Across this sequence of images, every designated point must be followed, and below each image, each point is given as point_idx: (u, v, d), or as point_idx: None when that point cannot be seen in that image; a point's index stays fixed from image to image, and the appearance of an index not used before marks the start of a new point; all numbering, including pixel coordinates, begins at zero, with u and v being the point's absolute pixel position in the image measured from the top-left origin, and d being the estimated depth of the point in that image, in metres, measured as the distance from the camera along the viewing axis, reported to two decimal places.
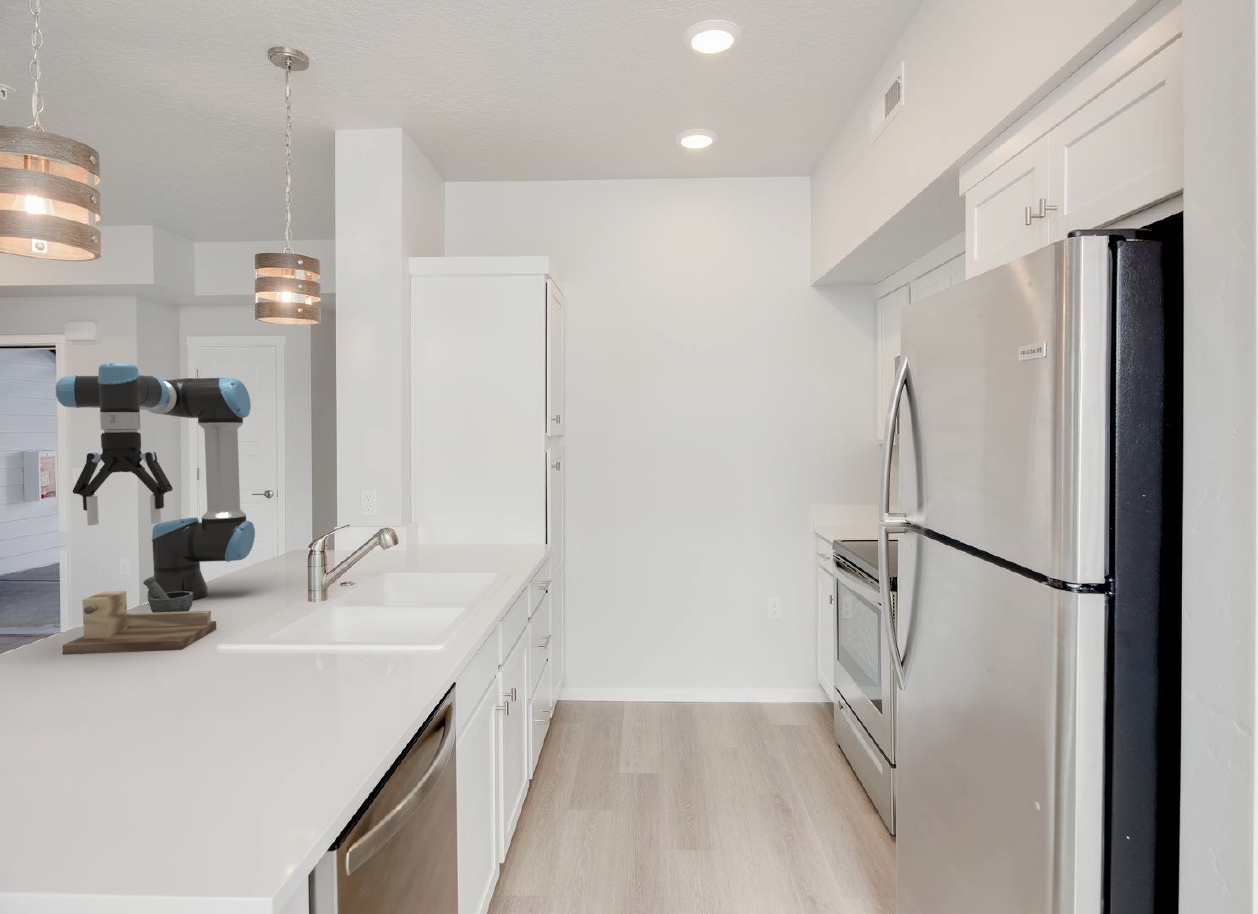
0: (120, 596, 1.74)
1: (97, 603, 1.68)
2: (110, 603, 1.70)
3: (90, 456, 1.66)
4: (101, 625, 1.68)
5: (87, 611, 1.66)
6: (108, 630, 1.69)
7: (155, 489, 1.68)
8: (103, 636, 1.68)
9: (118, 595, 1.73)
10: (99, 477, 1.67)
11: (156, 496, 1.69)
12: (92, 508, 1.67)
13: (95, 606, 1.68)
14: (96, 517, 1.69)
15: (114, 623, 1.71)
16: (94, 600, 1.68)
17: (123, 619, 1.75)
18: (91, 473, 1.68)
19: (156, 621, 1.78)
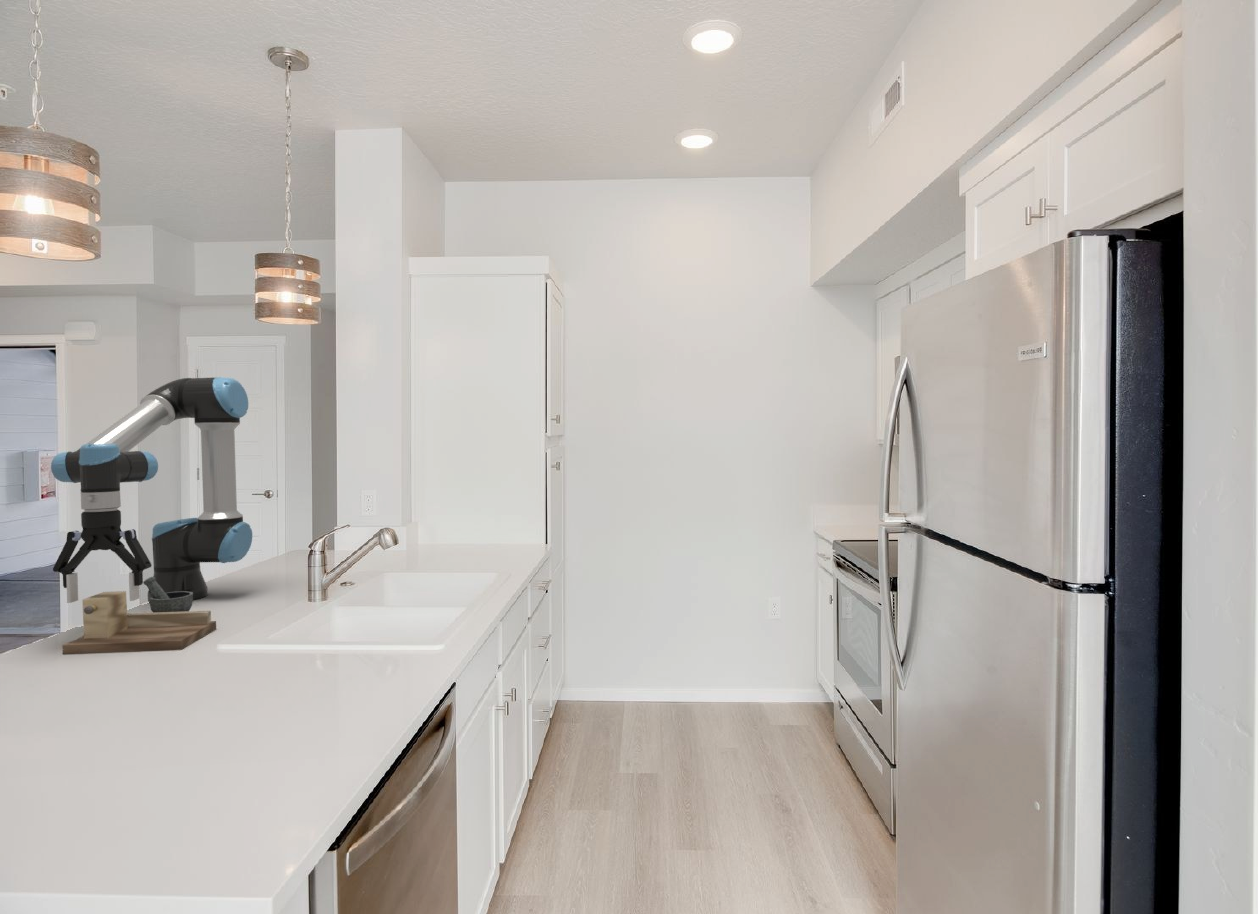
0: (120, 596, 1.74)
1: (97, 603, 1.68)
2: (110, 603, 1.70)
3: (70, 535, 1.69)
4: (101, 625, 1.68)
5: (87, 611, 1.66)
6: (108, 630, 1.69)
7: (134, 567, 1.71)
8: (103, 636, 1.68)
9: (118, 595, 1.73)
10: (79, 555, 1.70)
11: (135, 573, 1.71)
12: (72, 585, 1.70)
13: (95, 606, 1.68)
14: (76, 594, 1.72)
15: (114, 623, 1.71)
16: (94, 600, 1.68)
17: (123, 619, 1.75)
18: (71, 550, 1.71)
19: (156, 621, 1.78)
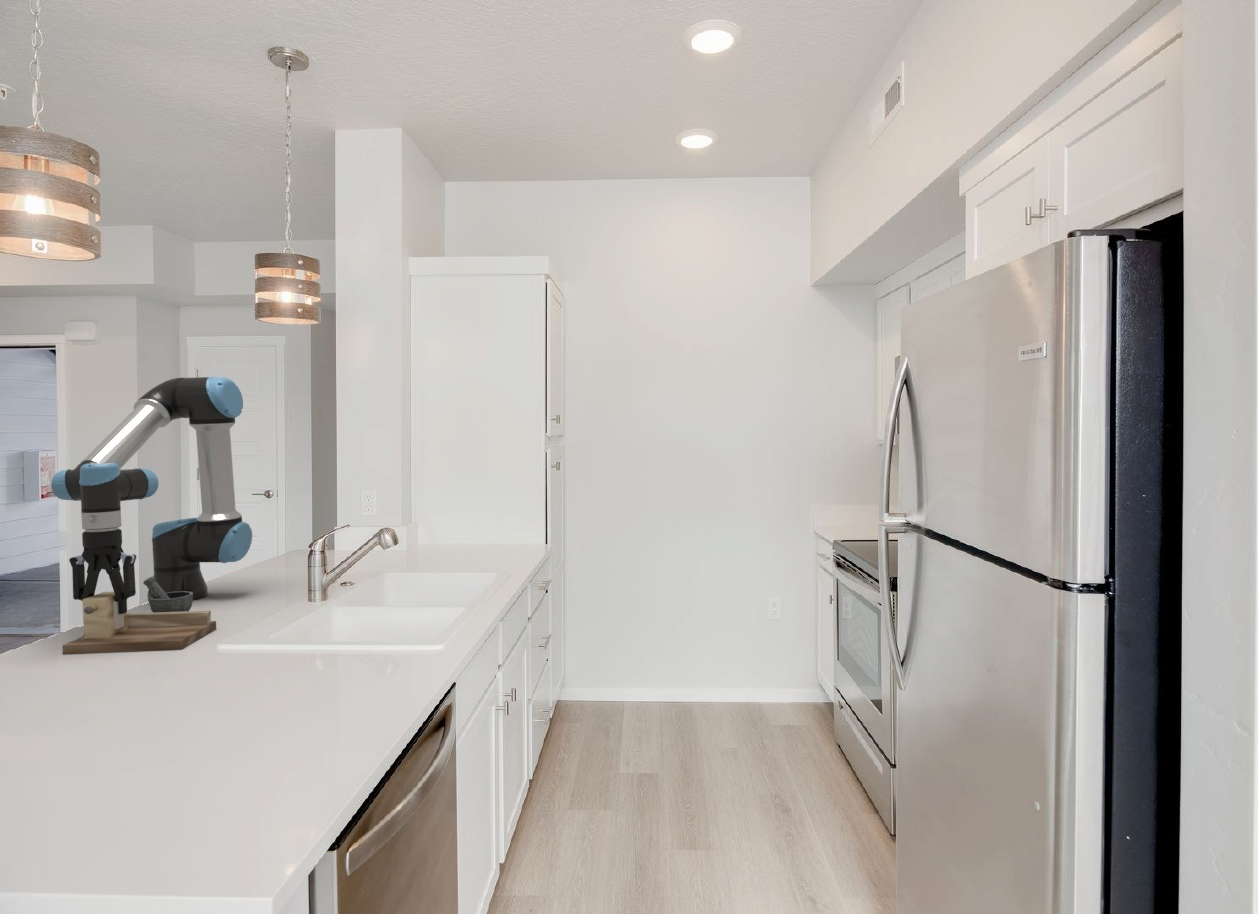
0: None
1: (97, 603, 1.68)
2: (110, 603, 1.70)
3: (73, 560, 1.70)
4: (101, 625, 1.68)
5: (87, 611, 1.66)
6: (108, 630, 1.69)
7: (119, 595, 1.71)
8: (103, 636, 1.68)
9: None
10: (90, 578, 1.70)
11: (119, 602, 1.72)
12: None
13: (95, 606, 1.68)
14: None
15: None
16: (94, 600, 1.68)
17: None
18: (81, 575, 1.71)
19: (156, 621, 1.78)
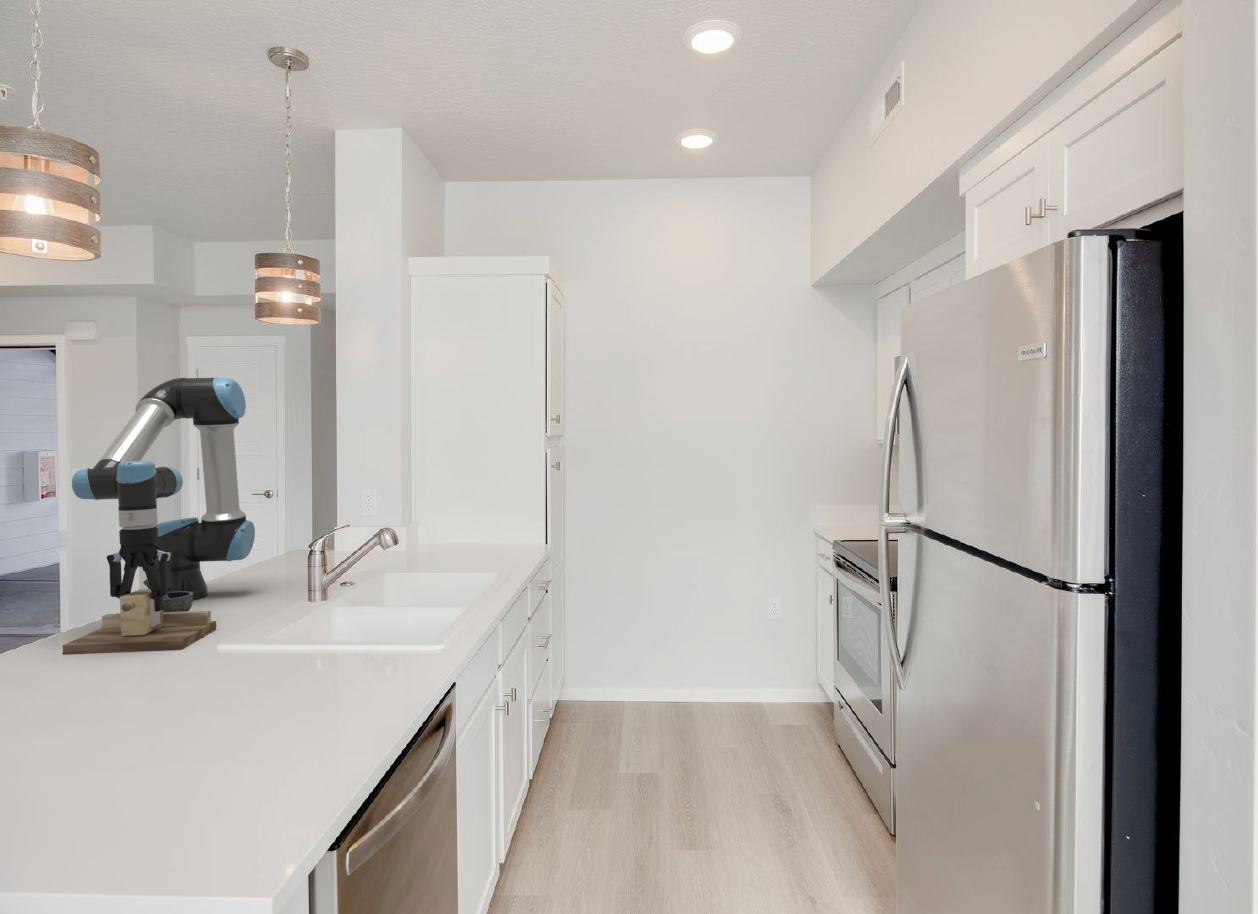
0: None
1: (134, 600, 1.69)
2: (147, 600, 1.71)
3: (110, 557, 1.70)
4: (138, 622, 1.69)
5: (125, 608, 1.67)
6: (145, 627, 1.70)
7: (156, 593, 1.72)
8: (140, 633, 1.69)
9: None
10: (127, 576, 1.71)
11: (155, 599, 1.72)
12: None
13: (132, 603, 1.68)
14: None
15: None
16: (131, 597, 1.69)
17: None
18: (118, 573, 1.72)
19: None
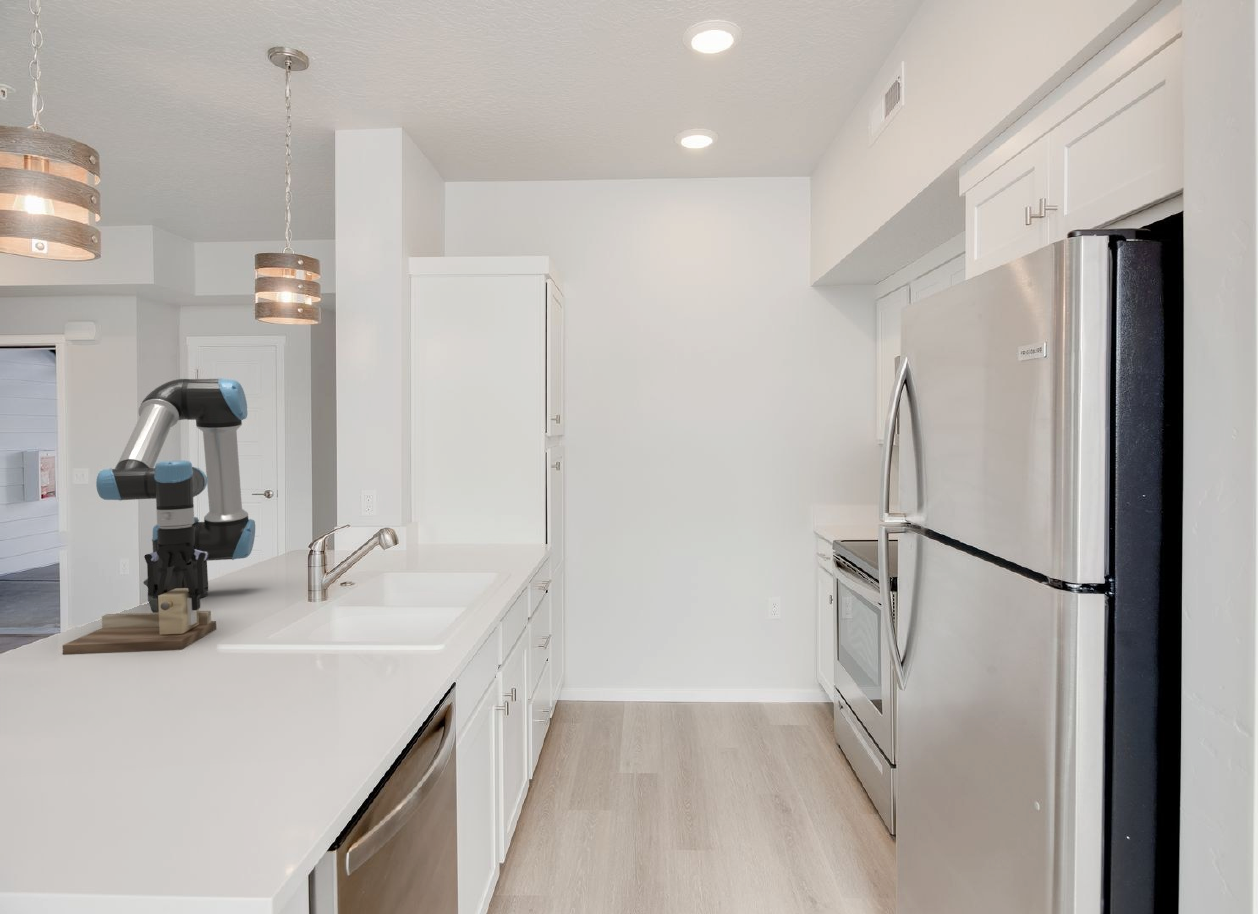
0: None
1: (172, 599, 1.70)
2: (185, 599, 1.72)
3: (148, 557, 1.71)
4: (176, 621, 1.70)
5: (164, 607, 1.67)
6: (183, 626, 1.71)
7: (193, 591, 1.73)
8: (178, 632, 1.70)
9: None
10: (164, 575, 1.72)
11: (193, 598, 1.73)
12: None
13: (171, 602, 1.69)
14: None
15: None
16: (170, 596, 1.69)
17: None
18: (156, 572, 1.73)
19: (156, 621, 1.78)
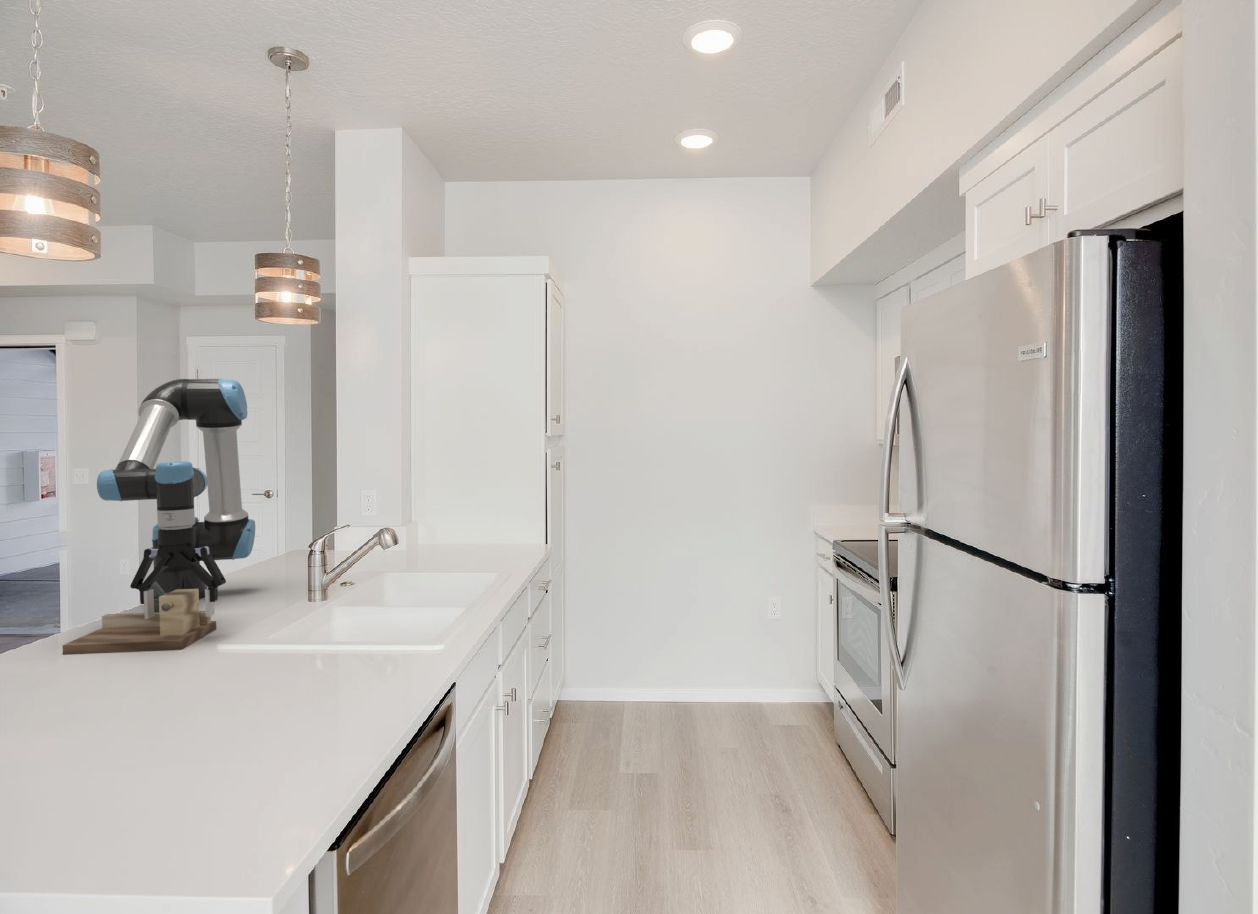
0: (193, 594, 1.75)
1: (173, 600, 1.70)
2: (185, 601, 1.72)
3: (147, 552, 1.71)
4: (177, 622, 1.70)
5: (165, 608, 1.67)
6: (184, 627, 1.71)
7: (210, 583, 1.73)
8: (179, 633, 1.70)
9: (192, 593, 1.75)
10: (156, 572, 1.72)
11: (210, 590, 1.74)
12: (149, 602, 1.72)
13: (171, 603, 1.69)
14: (152, 610, 1.74)
15: (188, 621, 1.73)
16: (170, 597, 1.70)
17: (196, 616, 1.76)
18: (147, 567, 1.73)
19: (156, 621, 1.78)
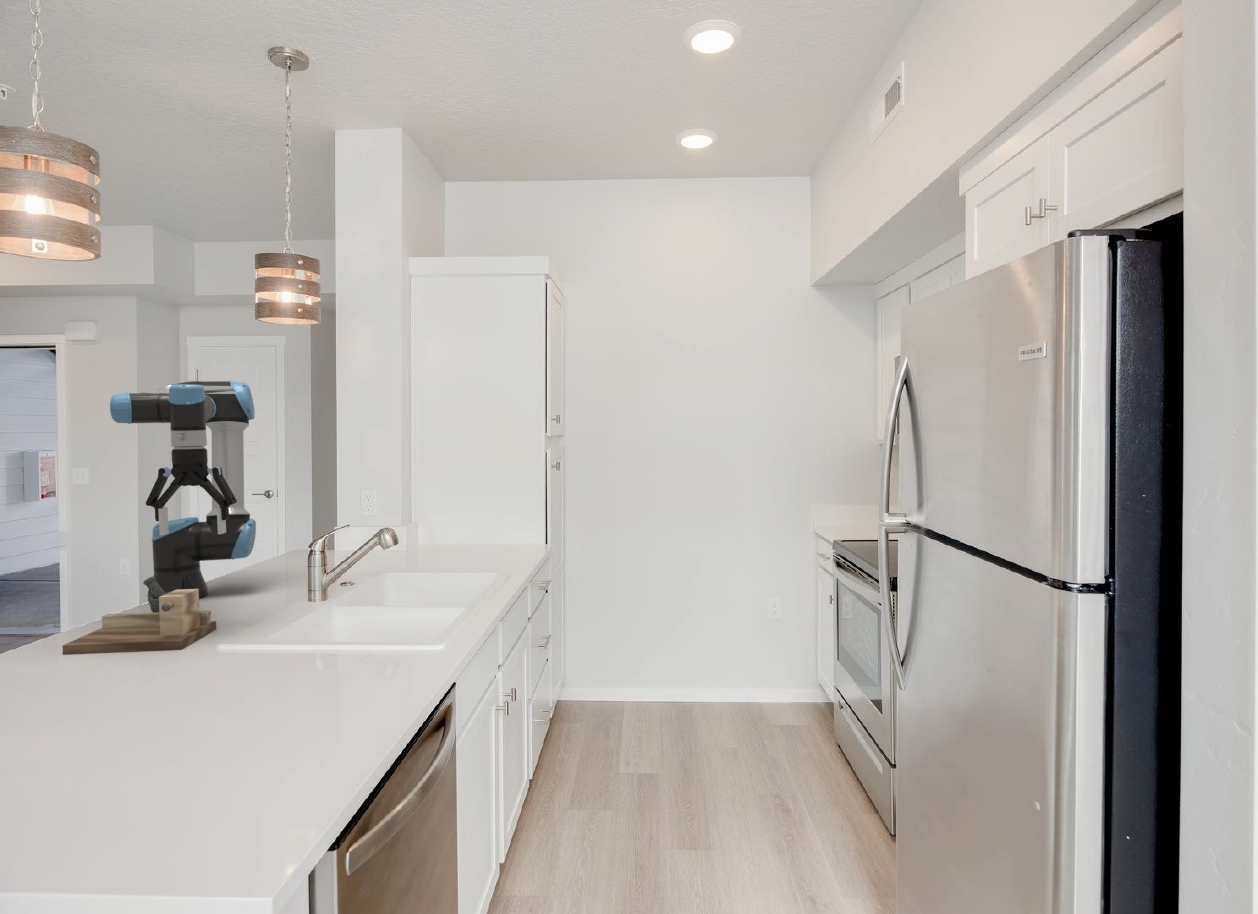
0: (193, 594, 1.75)
1: (173, 600, 1.70)
2: (185, 601, 1.72)
3: (161, 471, 1.78)
4: (177, 622, 1.70)
5: (165, 608, 1.67)
6: (184, 627, 1.71)
7: (221, 502, 1.80)
8: (179, 633, 1.70)
9: (192, 593, 1.75)
10: (170, 490, 1.79)
11: (222, 508, 1.81)
12: (163, 519, 1.80)
13: (171, 603, 1.69)
14: (167, 527, 1.81)
15: (188, 621, 1.73)
16: (170, 597, 1.70)
17: (196, 616, 1.76)
18: (162, 486, 1.80)
19: (156, 621, 1.78)
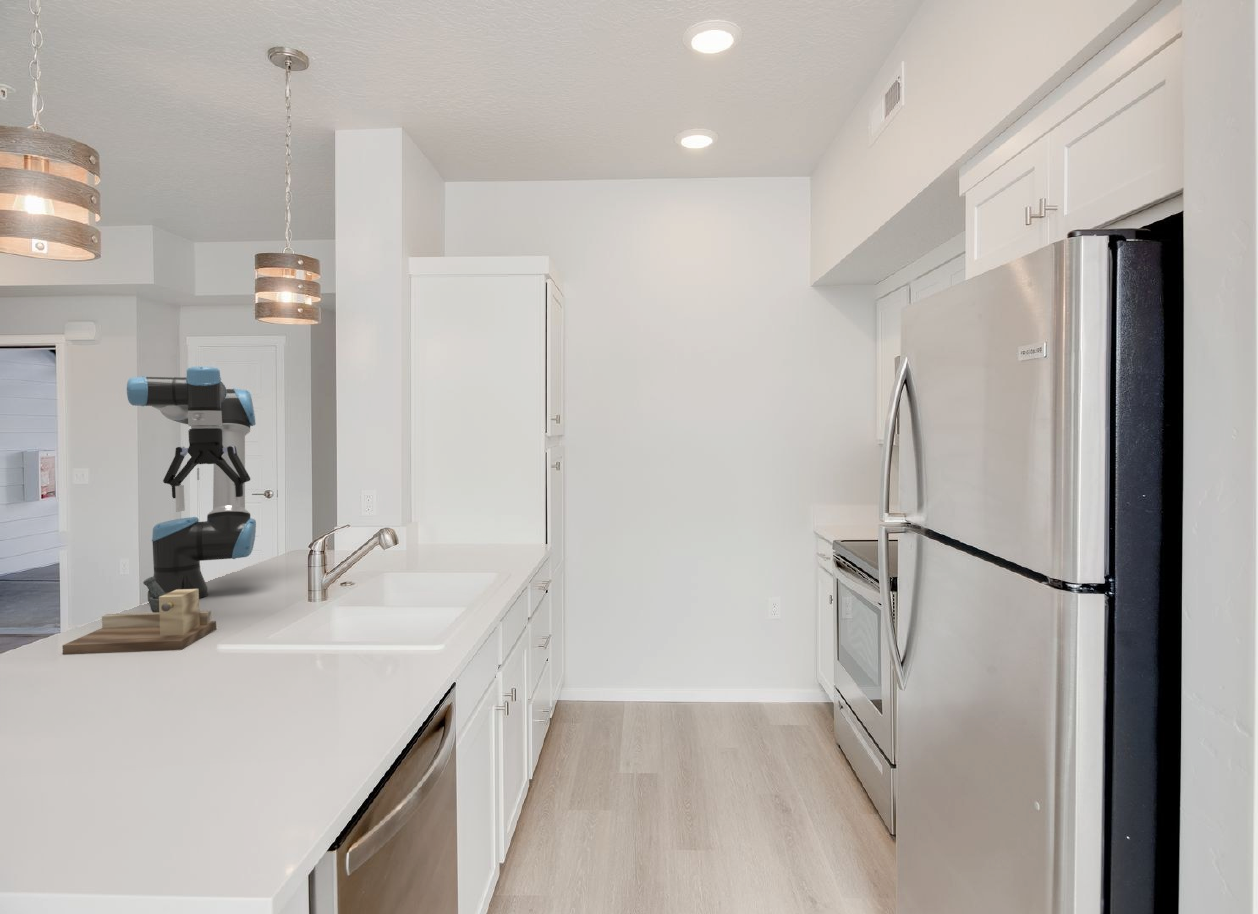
0: (193, 594, 1.75)
1: (173, 600, 1.70)
2: (185, 601, 1.72)
3: (178, 450, 1.86)
4: (177, 622, 1.70)
5: (165, 608, 1.67)
6: (184, 627, 1.71)
7: (236, 479, 1.88)
8: (179, 633, 1.70)
9: (192, 593, 1.75)
10: (186, 468, 1.87)
11: (236, 485, 1.88)
12: (180, 496, 1.87)
13: (171, 603, 1.69)
14: (183, 504, 1.89)
15: (188, 621, 1.73)
16: (170, 597, 1.70)
17: (196, 616, 1.76)
18: (178, 465, 1.88)
19: (156, 621, 1.78)
